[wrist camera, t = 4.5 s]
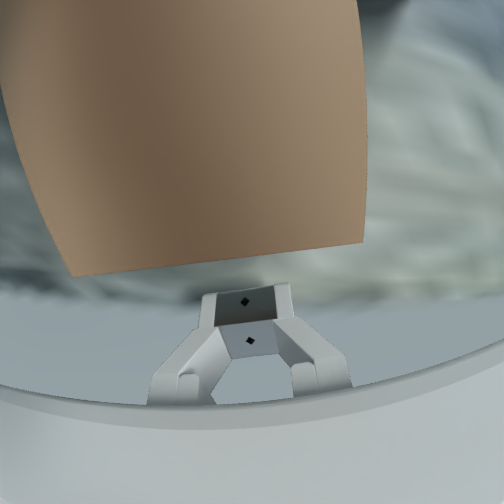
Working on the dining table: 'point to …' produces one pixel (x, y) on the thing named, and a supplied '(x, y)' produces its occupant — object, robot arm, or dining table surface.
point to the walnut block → (188, 126)
